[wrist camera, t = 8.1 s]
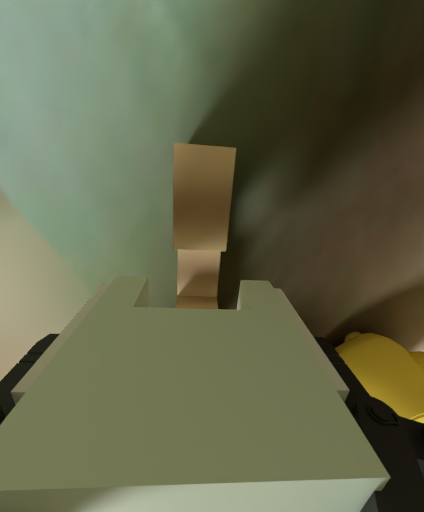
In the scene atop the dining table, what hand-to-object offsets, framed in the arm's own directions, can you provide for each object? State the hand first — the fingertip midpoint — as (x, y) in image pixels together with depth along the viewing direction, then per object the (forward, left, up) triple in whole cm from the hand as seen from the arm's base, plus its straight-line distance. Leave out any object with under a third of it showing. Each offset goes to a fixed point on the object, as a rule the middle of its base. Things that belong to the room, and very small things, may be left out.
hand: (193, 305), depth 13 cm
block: (0, 0, 0) cm, 0 cm away
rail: (0, 0, -8) cm, 8 cm away
